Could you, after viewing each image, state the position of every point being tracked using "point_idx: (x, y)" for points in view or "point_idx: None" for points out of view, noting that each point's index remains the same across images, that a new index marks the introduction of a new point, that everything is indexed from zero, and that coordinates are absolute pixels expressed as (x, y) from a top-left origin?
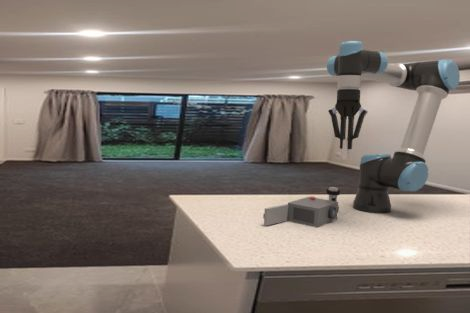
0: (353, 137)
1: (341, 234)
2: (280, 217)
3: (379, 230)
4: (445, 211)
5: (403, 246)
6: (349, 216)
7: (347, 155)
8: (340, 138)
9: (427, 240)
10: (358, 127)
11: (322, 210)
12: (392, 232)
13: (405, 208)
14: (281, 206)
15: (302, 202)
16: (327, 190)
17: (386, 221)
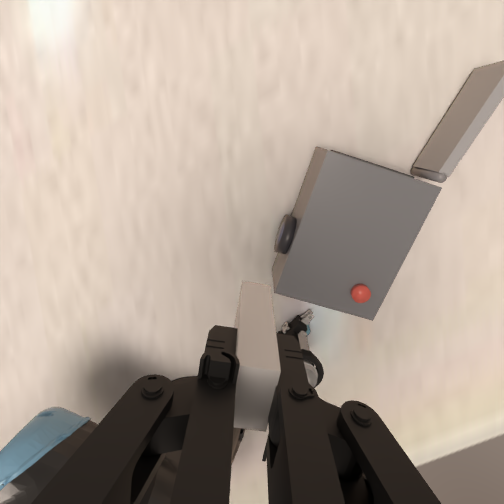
0: (169, 382)
1: (242, 104)
2: (440, 134)
3: (151, 206)
4: None
5: (69, 67)
6: None
7: (238, 310)
8: (309, 386)
9: (26, 167)
10: (52, 499)
11: (314, 179)
12: (117, 202)
13: None
14: (461, 138)
15: (389, 220)
16: (319, 363)
17: (147, 307)
